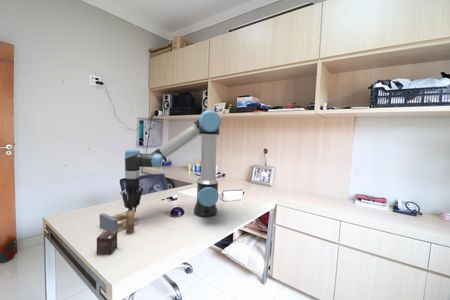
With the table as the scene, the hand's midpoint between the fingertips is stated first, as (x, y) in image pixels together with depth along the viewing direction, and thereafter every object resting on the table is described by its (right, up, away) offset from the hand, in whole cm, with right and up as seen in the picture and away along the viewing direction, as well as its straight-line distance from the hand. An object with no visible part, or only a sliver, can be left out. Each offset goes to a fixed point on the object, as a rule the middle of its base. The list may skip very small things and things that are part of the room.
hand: (132, 218), depth 117 cm
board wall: (-1, -3, -2) cm, 3 cm away
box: (+1, -5, -27) cm, 28 cm away
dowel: (+5, -4, -13) cm, 14 cm away
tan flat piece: (-3, -2, -5) cm, 7 cm away
